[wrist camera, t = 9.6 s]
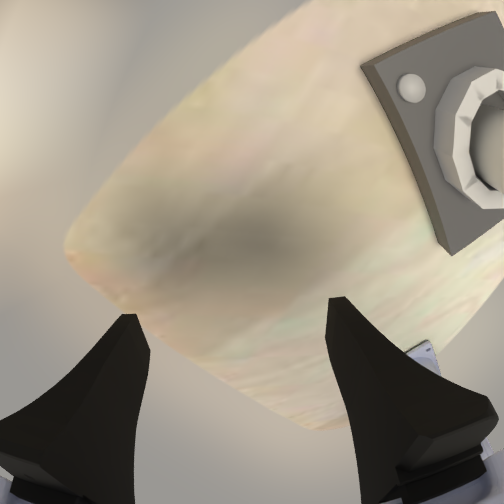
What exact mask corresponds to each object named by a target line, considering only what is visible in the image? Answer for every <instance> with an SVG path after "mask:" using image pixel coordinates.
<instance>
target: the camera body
mask: <svg viewBox="0 0 504 504" xmlns="http://www.w3.org/2000/svg"><path fill="white" fill-rule="evenodd" d="M361 68H362V70H363V71H364V73H365V75H366V77H367V78H368V80H369V82H370V84H371V86H372V87H373V89H374V91H375V93H376V95H377V97H378V98H379V100H380V102H381V104H382V106H383V108H384V110H385V112H386V114H387V116H388V118H389V120H390V122H391V124H392V126H393V128H394V130H395V132H396V135H397V137H398V139H399V141H400V143H401V145H402V148H403V150H404V152H405V154H406V157H407V159H408V161H409V164H410V166H411V168H412V171H413V173H414V176H415V178H416V181H417V183H418V186H419V188H420V191H421V194H422V196H423V199H424V202H425V204H426V207H427V210H428V213H429V216H430V219H431V221H432V224H433V227H434V230H435V234H436V237H437V240H438V243H439V244H440V245H441V246H442V247H443V248H444V249H445V250H446V251H447V252H448V253H449V254H450V255H451V256H453V255H454V254H456V253H457V252H459V251H460V250H462V249H463V248H465V247H466V246H467V245H469V244H470V243H472V242H473V241H474V240H476V239H477V238H478V237H480V236H481V235H483V234H484V233H485V232H487V231H488V230H489V229H491V228H492V227H493V226H495V225H496V224H497V223H499V222H500V221H501V220H502V219H504V194H503V193H501V192H500V191H498V190H497V189H495V188H494V187H492V186H491V185H489V184H488V183H486V182H484V181H483V180H481V179H480V178H478V177H476V175H475V172H474V168H473V164H472V161H471V158H470V154H469V145H470V134H471V122H472V120H473V118H474V116H475V114H476V112H477V110H478V108H479V106H481V105H487V106H491V107H495V108H498V109H501V110H504V28H503V26H502V24H501V22H500V19H499V17H498V15H497V13H496V11H491V12H480V13H476V14H473V15H470V16H468V17H465V18H463V19H460V20H457V21H455V22H452V23H450V24H448V25H445V26H443V27H440V28H438V29H436V30H433V31H431V32H429V33H427V34H424V35H422V36H420V37H418V38H415V39H413V40H411V41H409V42H407V43H405V44H403V45H400V46H398V47H396V48H394V49H392V50H390V51H388V52H386V53H384V54H382V55H380V56H378V57H376V58H374V59H372V60H370V61H368V62H366V63H364V64H362V65H361Z"/></svg>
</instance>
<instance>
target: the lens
mask: <svg viewBox="0 0 504 504" xmlns="http://www.w3.org/2000/svg"><path fill="white" fill-rule="evenodd" d="M469 154H470V158H471V161H472V164H473V168H474V172H475V175H476V177H478V178H480V179H481V180H483V181H484V182H486V183H488V184H489V185H491V186H492V187H494V188H495V189H497V190H498V191H500V192H501V193H503V194H504V110H501V109H498V108H495V107H491V106H487V105H481V106H479V108H478V110H477V112H476V114H475V116H474V118H473V120H472V122H471V134H470V145H469Z"/></svg>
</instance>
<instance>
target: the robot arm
mask: <svg viewBox="0 0 504 504" xmlns="http://www.w3.org/2000/svg"><path fill="white" fill-rule="evenodd" d="M325 340H326V344H327V349H328V354H329V358H330V362H331V365H332V368H333V371H334V374H335V377H336V380H337V383H338V386H339V389H340V392H341V394H342V397H343V400H344V403H345V406H346V410H347V413H348V417H349V421H350V426H351V431H352V436H353V441H354V447H355V453H356V460H357V467H358V474H359V482H360V492H361V503H362V504H504V448H503V449H502V450H500V451H498V452H496V453H494V452H493V449H492V447H491V445H490V443H489V441H488V439H487V436H488V435H489V434H490V432H491V431H492V430H493V429H494V428H495V426H496V425H497V422H498V420H499V418H498V415H497V413H496V411H495V409H494V407H493V405H492V404H491V402H490V400H489V399H488V397H487V396H484V395H482V394H479V393H476V392H474V391H471V390H468V389H466V388H463V387H461V386H459V385H457V384H455V383H452V382H451V381H448V380H447V379H444V378H443V377H441V373H440V370H439V366H438V363H437V360H436V357H435V353H434V350H433V347H432V344H431V342H430V341H426V342H424V343H423V344H421V345H419V346H418V347H416V348H414V349H413V350H411V351H409V352H407V353H406V354H405V353H404V352H403V351H401V350H400V349H399V348H398V347H396V346H395V345H394V344H393V343H392V342H391V341H389V340H388V339H387V338H386V337H385V336H384V335H383V334H382V333H381V332H379V331H378V330H377V329H376V328H375V327H374V326H373V325H372V324H371V323H370V322H369V321H368V320H367V319H366V318H365V317H364V316H363V315H362V314H361V313H360V312H359V311H358V310H357V309H356V308H355V306H354V305H353V304H352V303H351V302H350V301H349V300H348V299H347V298H346V297H345V296H344V297H336V298H329V302H328V313H327V324H326V334H325ZM149 361H150V348H149V346H148V343H147V341H146V338H145V336H144V333H143V331H142V328H141V325H140V323H139V320H138V317H137V315H136V314H122V315H121V316H120V317H119V318H118V319H117V320H116V321H115V322H114V324H113V325H112V326H111V327H110V328H109V329H108V331H107V332H106V333H105V334H104V335H103V336H102V338H101V339H100V340H99V341H98V342H97V343H96V344H95V346H94V347H93V348H92V349H91V350H90V351H89V352H88V353H87V354H86V356H85V357H84V358H83V359H82V360H81V361H80V362H79V363H78V364H77V365H76V366H75V367H74V368H73V369H72V370H71V371H70V372H69V373H68V374H67V375H66V376H65V377H64V378H63V379H61V380H60V381H59V382H58V383H57V384H56V385H55V386H53V387H52V388H51V389H49V390H48V391H47V392H46V393H44V394H43V395H42V396H40V397H39V398H38V399H36V400H35V401H33V402H32V403H30V404H29V405H27V406H26V407H24V408H22V409H21V410H19V411H17V412H16V413H14V414H12V415H10V416H8V417H6V418H4V419H2V420H0V466H1V467H2V468H4V469H5V470H6V471H8V472H9V473H10V474H11V475H13V476H14V478H13V481H12V482H11V481H10V480H8V479H6V478H4V477H1V476H0V504H135V496H134V449H135V435H136V427H137V421H138V416H139V411H140V407H141V403H142V398H143V394H144V390H145V385H146V381H147V376H148V371H149V370H148V369H149Z"/></svg>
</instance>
